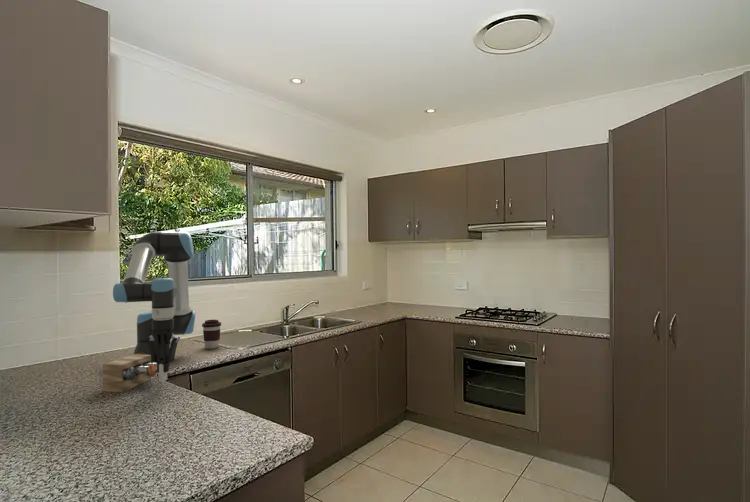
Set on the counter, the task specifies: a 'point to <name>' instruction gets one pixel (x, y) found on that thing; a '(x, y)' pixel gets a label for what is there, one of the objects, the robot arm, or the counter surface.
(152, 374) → the plug rust
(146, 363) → the plug
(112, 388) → the block
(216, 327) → the coffee cup
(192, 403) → the counter surface
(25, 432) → the counter surface
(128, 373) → the plug
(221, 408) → the counter surface
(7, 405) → the counter surface
